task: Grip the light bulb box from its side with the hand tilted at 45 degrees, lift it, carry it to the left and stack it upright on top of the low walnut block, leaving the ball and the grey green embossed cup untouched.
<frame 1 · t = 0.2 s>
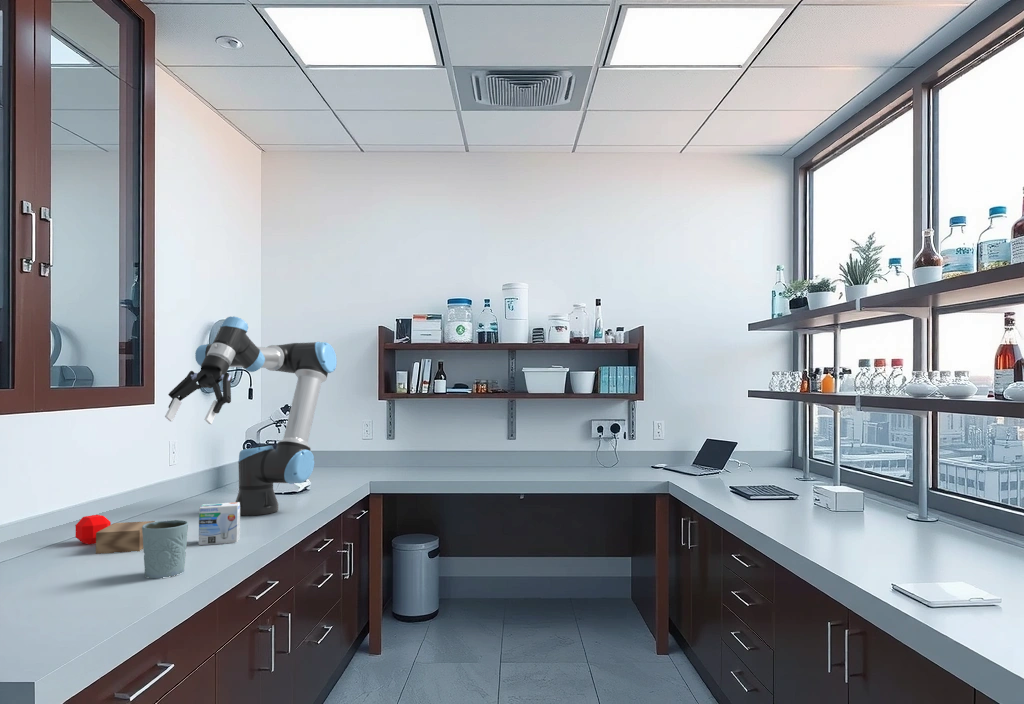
hand: (187, 420, 208), 35 cm above the worktop, tool tilted 35°, fingers open, 13 cm apart
walnut block: (126, 547, 203), on the worktop
ball: (93, 543, 210), on the worktop
light bulb box: (219, 542, 207), on the worktop
grey green embossed cup: (165, 575, 172), on the worktop
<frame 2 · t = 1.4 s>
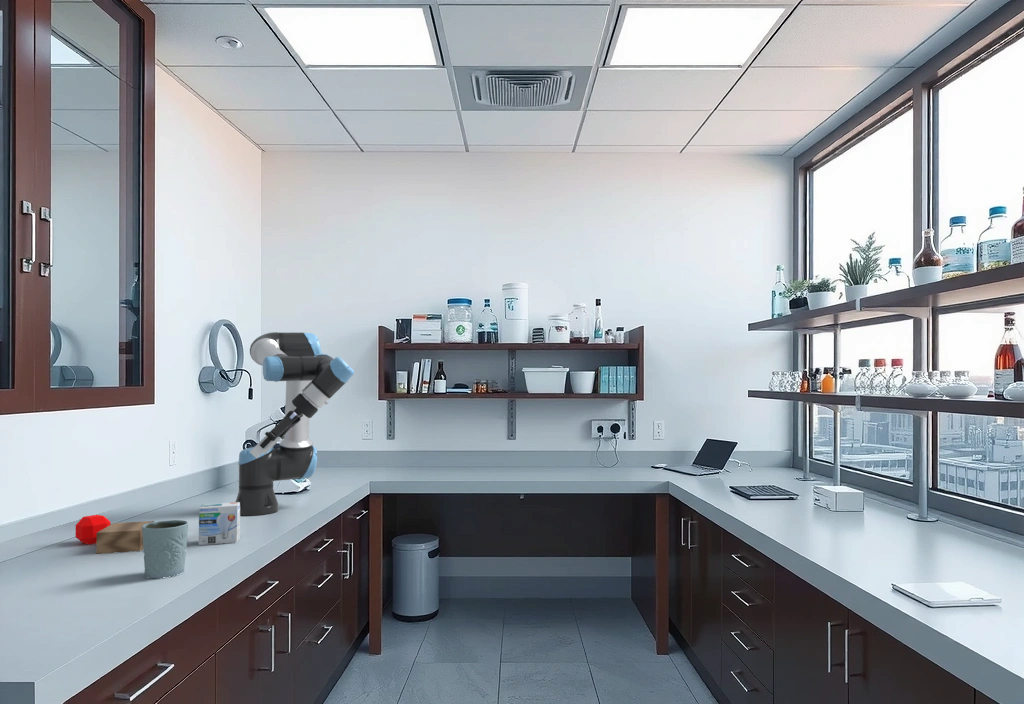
hand: (257, 453, 210), 25 cm above the worktop, tool tilted 45°, fingers open, 13 cm apart
nothing on the worktop moved.
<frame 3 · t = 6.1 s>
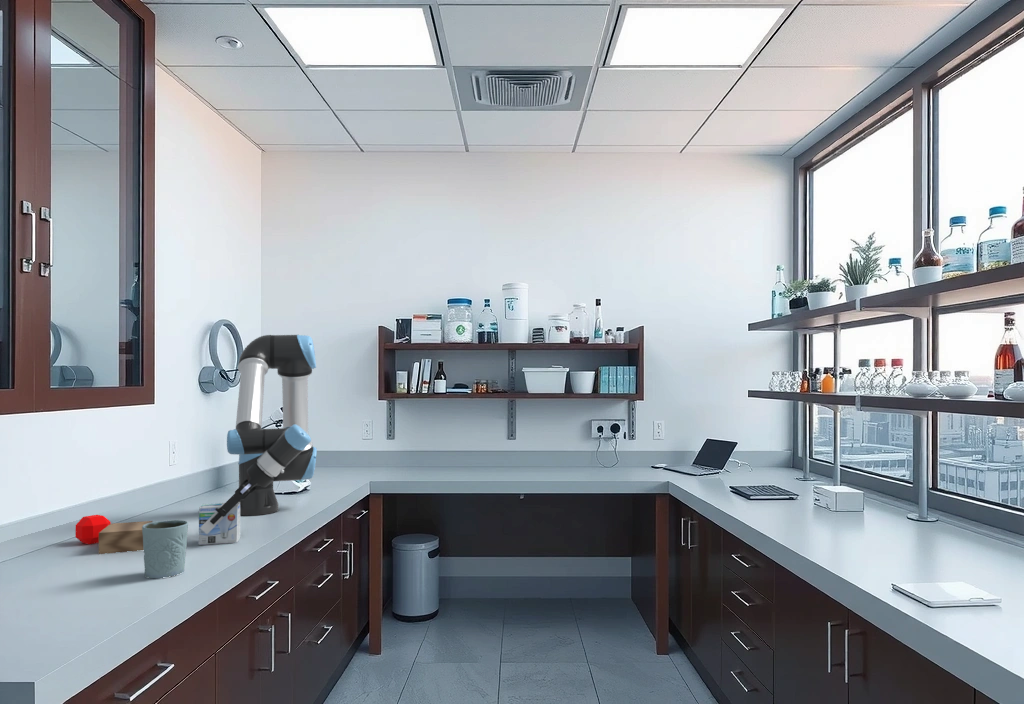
hand: (207, 528, 207), 4 cm above the worktop, tool tilted 45°, fingers closed on light bulb box, 7 cm apart
light bulb box: (219, 542, 207), on the worktop, touching gripper
everything else where it was.
when the fingers open (11 cm above the worktop, at t = 11.2 s): light bulb box drops 2 cm, resting on walnut block.
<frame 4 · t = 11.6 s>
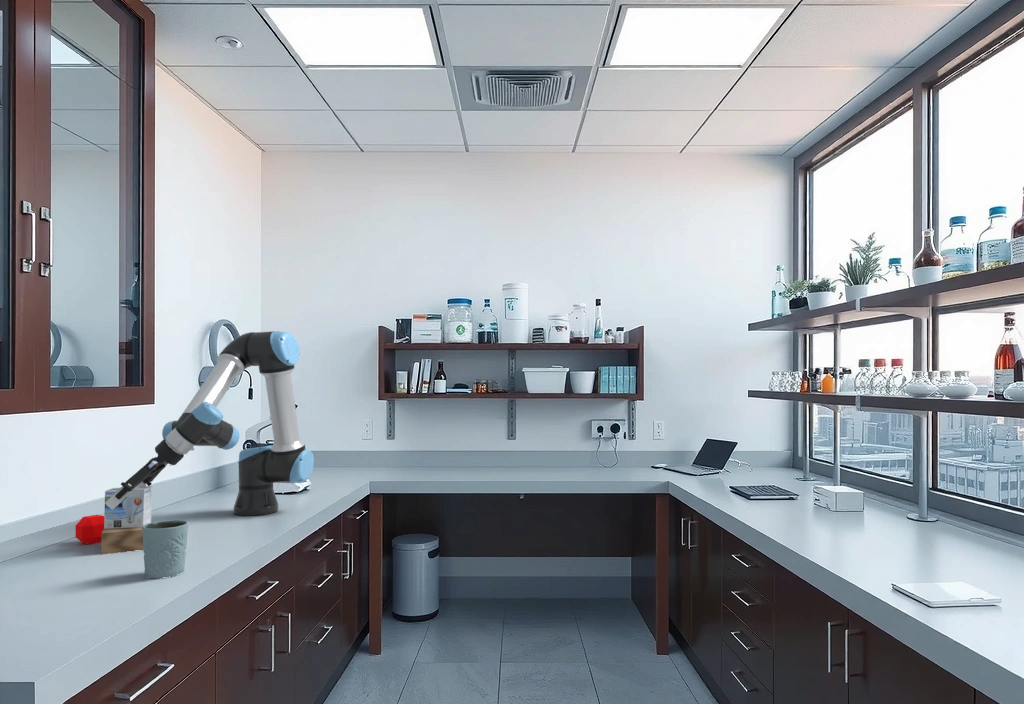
hand: (117, 502, 203), 13 cm above the worktop, tool tilted 45°, fingers open, 12 cm apart
walnut block: (126, 548, 203), on the worktop, touching light bulb box
light bulb box: (128, 527, 204), point 5 cm above the worktop, touching walnut block
everything else where it was.
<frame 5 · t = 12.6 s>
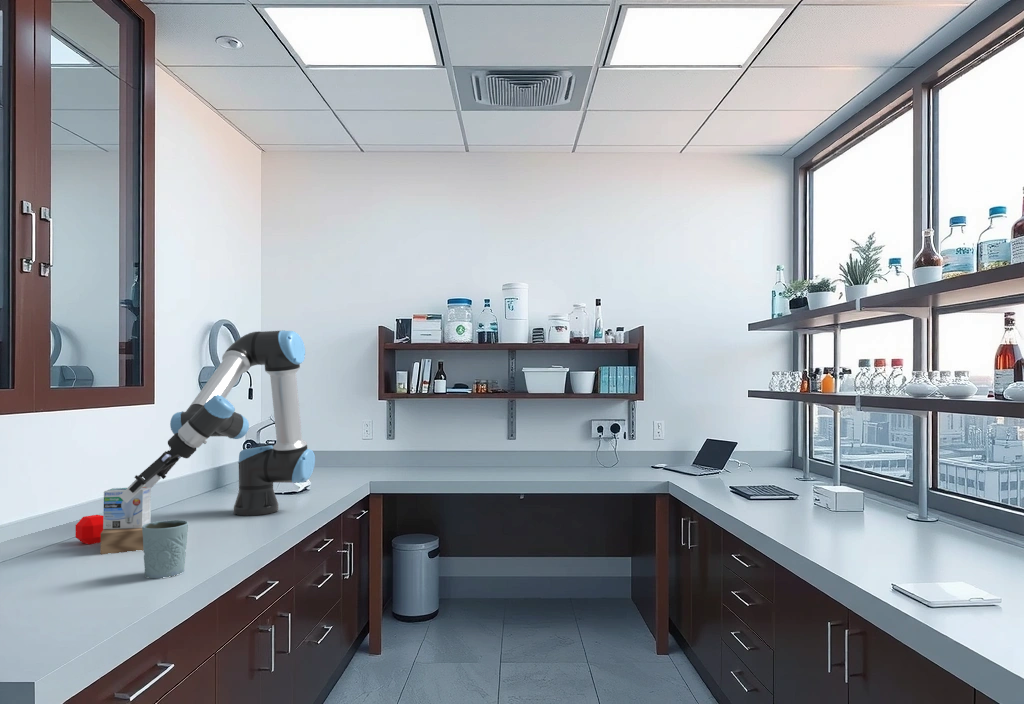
hand: (132, 495, 204), 14 cm above the worktop, tool tilted 45°, fingers open, 13 cm apart
nothing on the worktop moved.
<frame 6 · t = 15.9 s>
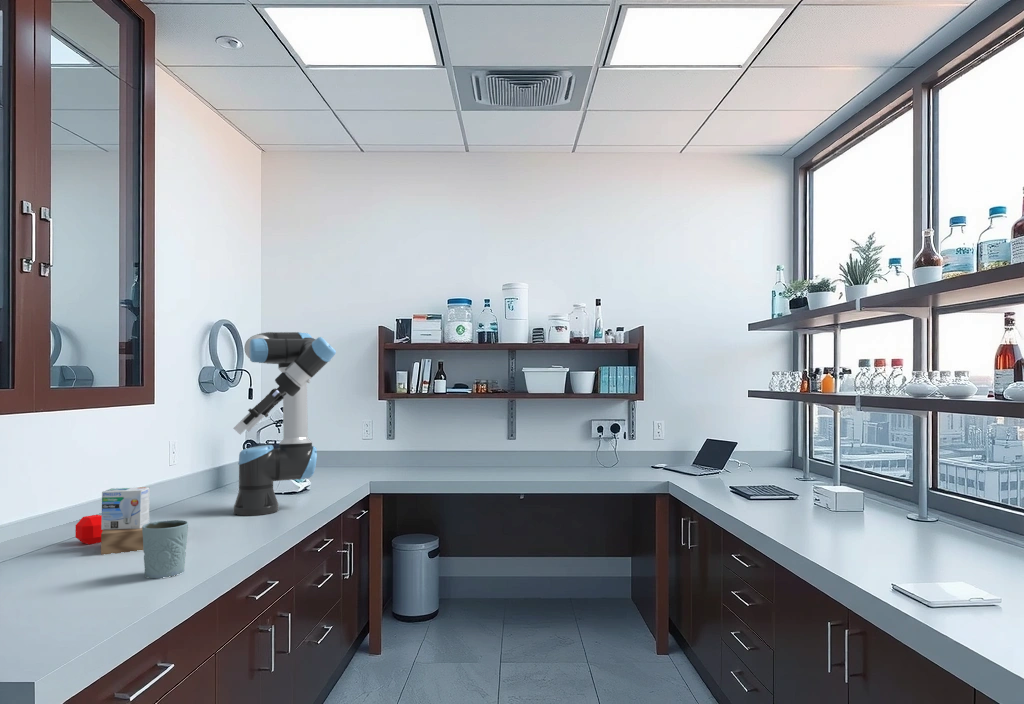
hand: (241, 430, 216), 32 cm above the worktop, tool tilted 45°, fingers open, 13 cm apart
at the end: light bulb box inside the target area on the walnut block (0.2 cm from its centre), point 5.8 cm above the walnut block's base; light bulb box tilted 0°; the gripper is holding nothing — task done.
